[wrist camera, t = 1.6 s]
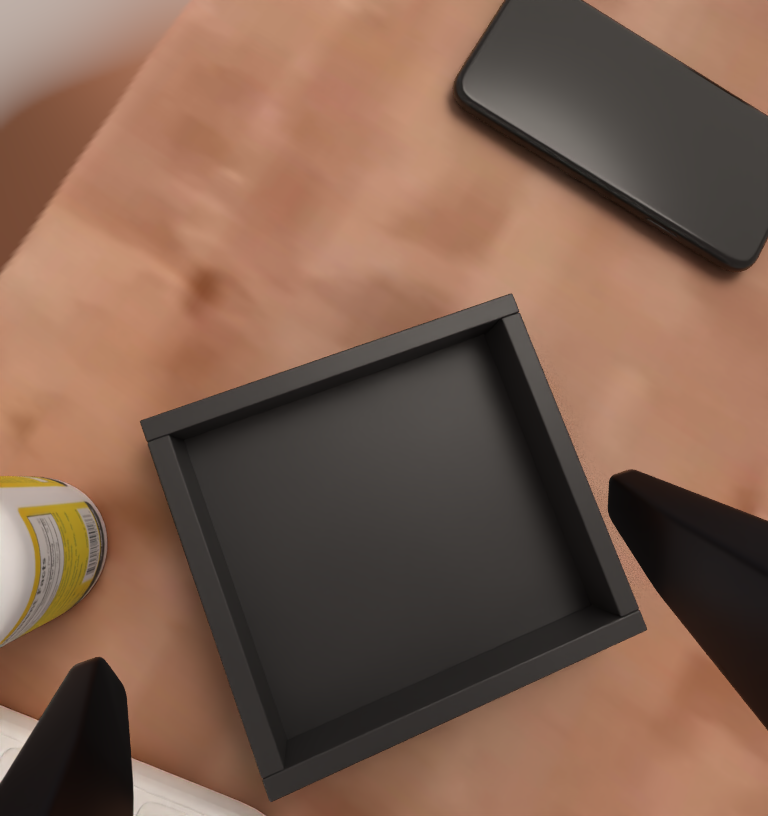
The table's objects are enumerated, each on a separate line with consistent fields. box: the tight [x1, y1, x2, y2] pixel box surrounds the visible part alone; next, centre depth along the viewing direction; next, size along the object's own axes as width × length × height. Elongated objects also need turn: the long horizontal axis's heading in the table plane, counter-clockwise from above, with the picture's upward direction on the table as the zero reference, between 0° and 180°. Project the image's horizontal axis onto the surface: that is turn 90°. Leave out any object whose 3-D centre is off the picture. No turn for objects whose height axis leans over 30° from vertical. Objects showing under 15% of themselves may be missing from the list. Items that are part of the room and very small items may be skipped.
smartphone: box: [453, 0, 768, 272], centre depth 28 cm, size 8×1×16 cm
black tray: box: [140, 294, 647, 802], centre depth 23 cm, size 14×15×3 cm
